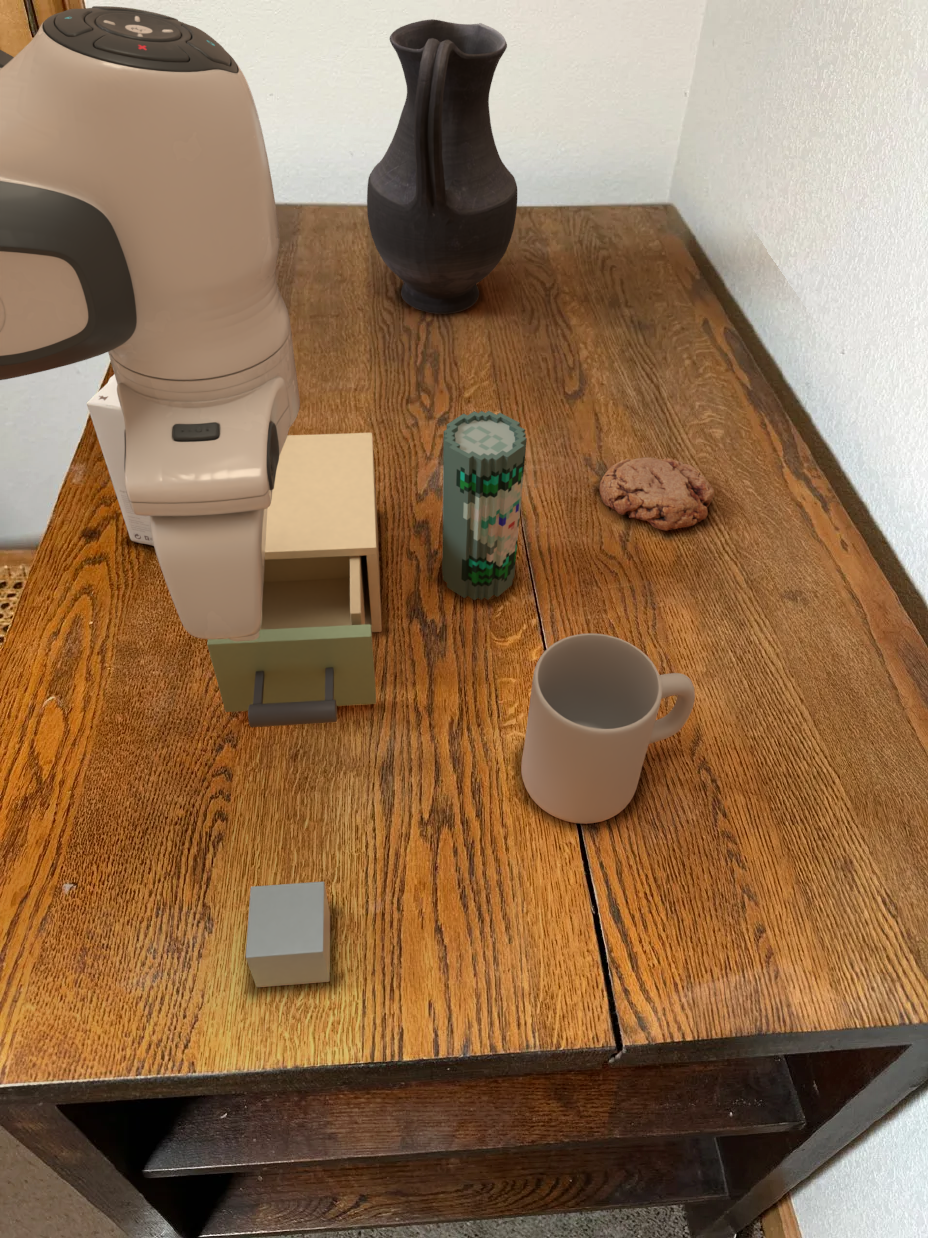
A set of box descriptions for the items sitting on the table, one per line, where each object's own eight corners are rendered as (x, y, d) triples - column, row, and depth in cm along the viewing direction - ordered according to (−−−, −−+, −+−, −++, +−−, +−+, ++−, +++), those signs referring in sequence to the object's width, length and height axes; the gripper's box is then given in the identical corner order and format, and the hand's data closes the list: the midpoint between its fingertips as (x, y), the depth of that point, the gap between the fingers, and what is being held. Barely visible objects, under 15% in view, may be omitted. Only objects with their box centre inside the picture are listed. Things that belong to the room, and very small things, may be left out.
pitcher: (515, 267, 121) (533, -2, 99) (503, 352, 107) (521, 61, 85) (383, 257, 122) (373, -11, 100) (354, 341, 108) (334, 50, 86)
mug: (543, 838, 65) (559, 746, 57) (505, 741, 70) (514, 645, 62) (699, 797, 67) (736, 704, 59) (650, 707, 73) (677, 610, 65)
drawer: (378, 754, 68) (372, 687, 62) (219, 763, 67) (199, 696, 62) (372, 580, 80) (367, 510, 75) (238, 586, 80) (223, 516, 74)
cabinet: (381, 632, 78) (376, 547, 70) (228, 639, 77) (207, 554, 70) (377, 516, 87) (372, 432, 80) (241, 522, 86) (224, 437, 79)
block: (256, 988, 57) (245, 958, 54) (260, 918, 60) (250, 886, 57) (329, 982, 58) (323, 952, 54) (330, 913, 61) (324, 880, 57)
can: (482, 609, 80) (490, 469, 69) (429, 576, 82) (429, 436, 71) (526, 572, 83) (540, 433, 72) (474, 541, 85) (480, 402, 74)
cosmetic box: (187, 556, 83) (149, 416, 72) (126, 542, 84) (80, 402, 73) (229, 498, 89) (200, 360, 78) (171, 486, 90) (135, 348, 79)
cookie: (593, 468, 93) (597, 443, 91) (698, 468, 93) (705, 444, 91) (606, 535, 86) (610, 510, 84) (719, 535, 87) (726, 510, 85)
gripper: (168, 284, 54) (210, 473, 64) (118, 514, 41) (181, 708, 51) (278, 281, 55) (302, 468, 65) (265, 506, 41) (298, 700, 51)
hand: (249, 575), depth 58 cm, fingers open, 8 cm apart
